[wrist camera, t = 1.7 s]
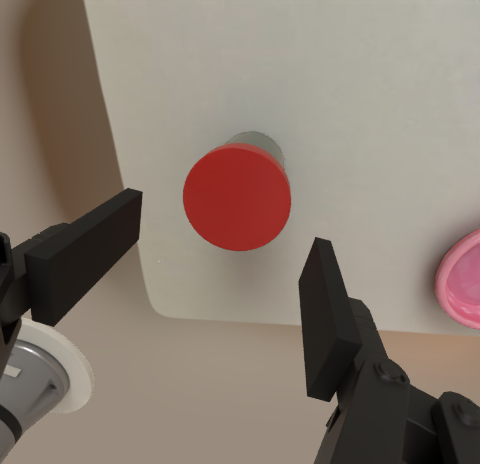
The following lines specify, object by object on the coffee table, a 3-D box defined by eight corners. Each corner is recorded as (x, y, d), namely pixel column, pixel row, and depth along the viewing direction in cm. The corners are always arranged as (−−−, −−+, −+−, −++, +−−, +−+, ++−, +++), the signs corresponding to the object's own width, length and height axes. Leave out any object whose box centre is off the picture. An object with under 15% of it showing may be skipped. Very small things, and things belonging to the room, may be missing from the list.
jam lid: (241, 256, 24) (238, 269, 22) (170, 195, 22) (161, 203, 21) (311, 194, 21) (314, 203, 19) (236, 118, 19) (231, 121, 18)
